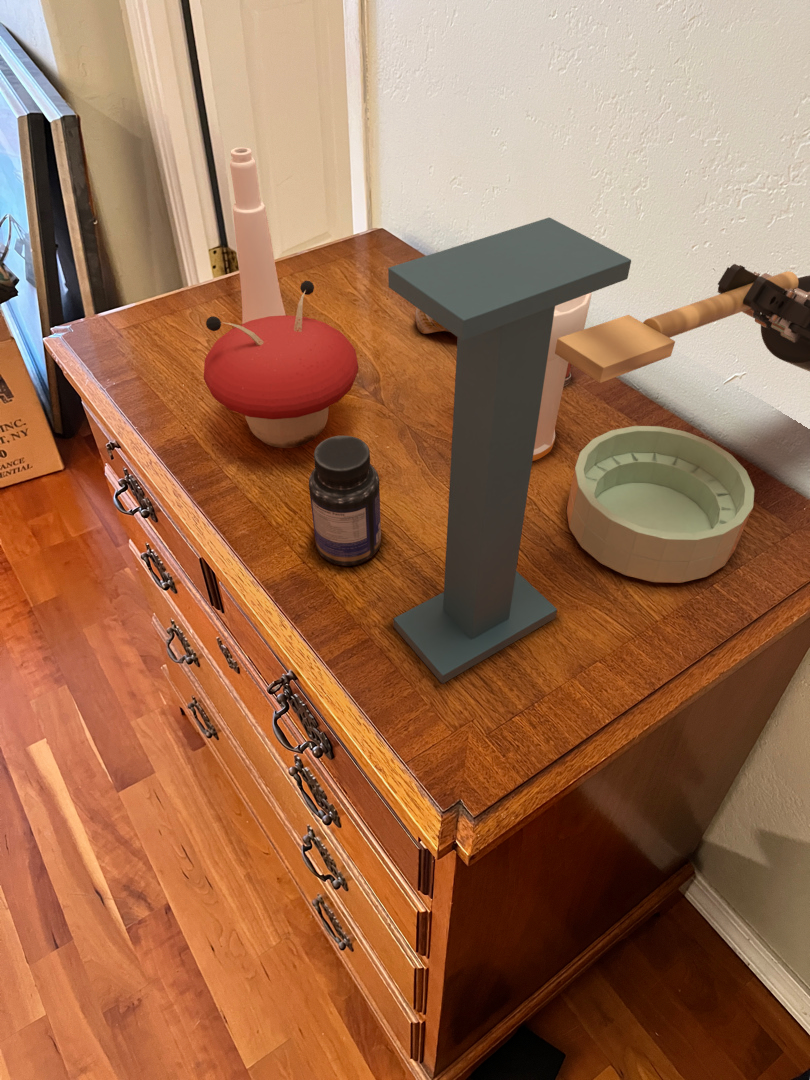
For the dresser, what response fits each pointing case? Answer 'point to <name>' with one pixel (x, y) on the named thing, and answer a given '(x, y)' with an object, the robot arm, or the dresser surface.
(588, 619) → the dresser surface
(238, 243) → the cosmetic bottle
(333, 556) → the pill bottle
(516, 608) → the headphone stand
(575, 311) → the cup
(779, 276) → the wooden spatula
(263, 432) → the mushroom
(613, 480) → the bowl
